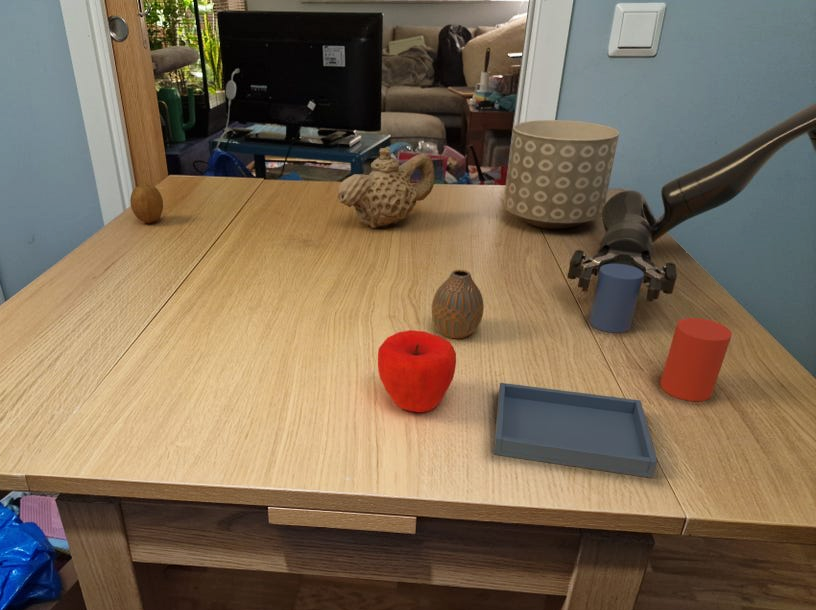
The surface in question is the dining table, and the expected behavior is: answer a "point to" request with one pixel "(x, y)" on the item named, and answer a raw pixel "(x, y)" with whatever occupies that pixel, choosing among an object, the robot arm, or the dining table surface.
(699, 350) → the red canister
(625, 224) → the robot arm
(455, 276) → the vase
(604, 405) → the blue tray
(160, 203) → the fruit
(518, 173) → the planter
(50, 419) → the dining table surface
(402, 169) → the teapot
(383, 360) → the apple
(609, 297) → the blue canister
